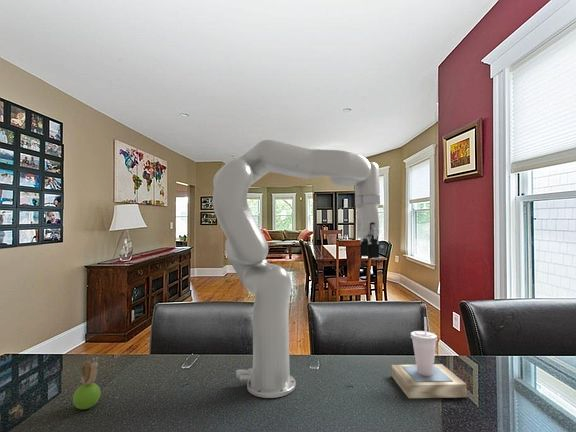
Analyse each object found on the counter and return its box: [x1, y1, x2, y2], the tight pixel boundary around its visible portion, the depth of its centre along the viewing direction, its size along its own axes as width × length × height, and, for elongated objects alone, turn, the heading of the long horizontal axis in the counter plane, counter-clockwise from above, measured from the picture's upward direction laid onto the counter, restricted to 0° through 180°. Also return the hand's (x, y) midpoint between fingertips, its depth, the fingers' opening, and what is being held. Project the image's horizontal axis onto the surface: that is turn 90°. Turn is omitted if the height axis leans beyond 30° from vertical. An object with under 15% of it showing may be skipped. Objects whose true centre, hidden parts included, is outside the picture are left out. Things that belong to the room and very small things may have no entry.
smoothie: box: [410, 316, 438, 376], centre depth 82 cm, size 6×6×14 cm
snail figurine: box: [72, 356, 101, 410], centre depth 73 cm, size 5×6×12 cm
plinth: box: [391, 363, 468, 399], centre depth 81 cm, size 14×12×3 cm
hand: (369, 257), depth 98 cm, fingers open, 9 cm apart
